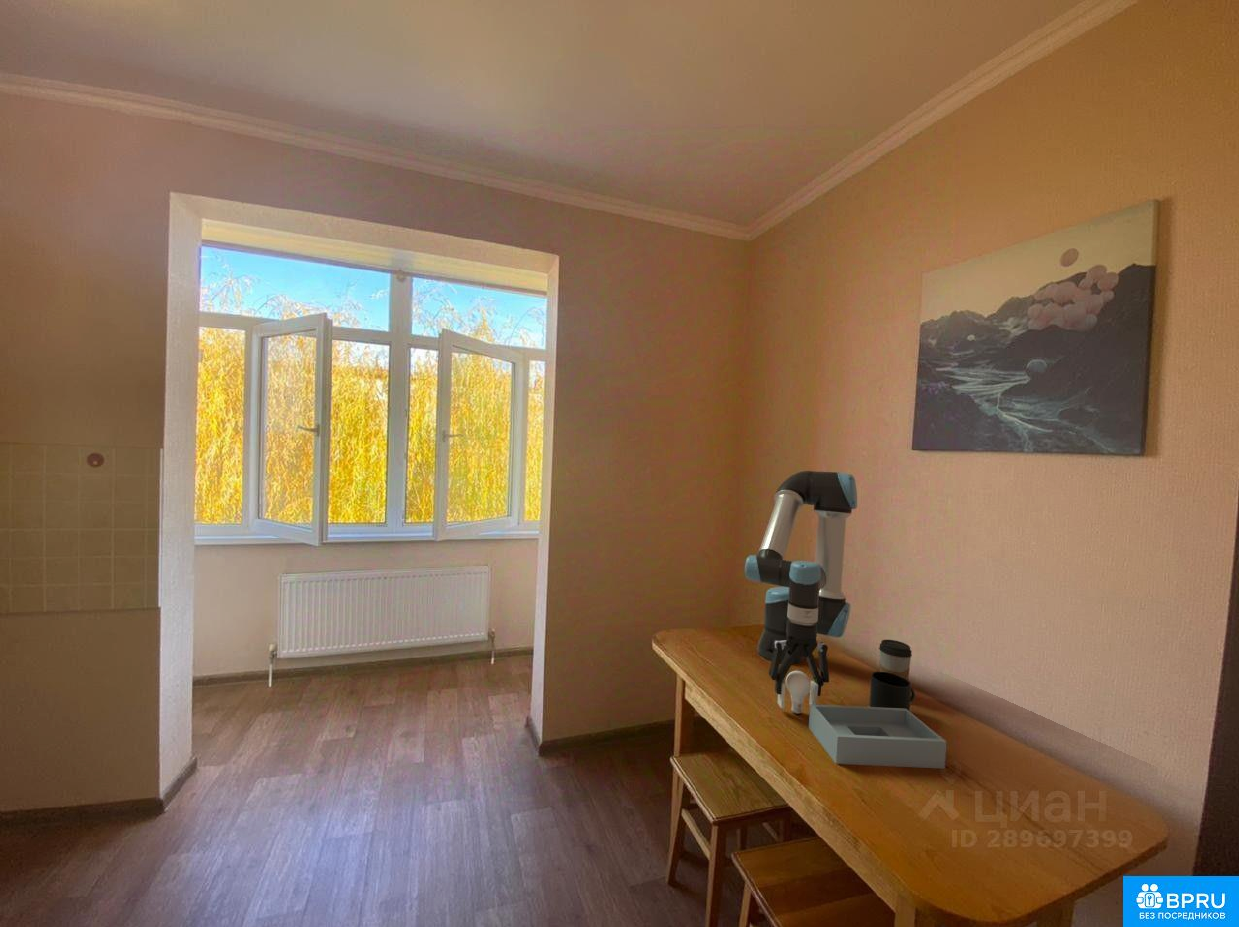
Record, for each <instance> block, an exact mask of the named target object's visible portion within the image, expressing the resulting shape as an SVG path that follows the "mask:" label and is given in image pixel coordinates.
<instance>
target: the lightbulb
mask: <svg viewBox="0 0 1239 927" xmlns="http://www.w3.org/2000/svg"><path fill="white" fill-rule="evenodd" d="M785 684H786V685H785V688H786V689H787V691H788V693H789V695H790V700H791V712H793V713H794V714H796V715H799V714H802V713H803V703H804V701H805V698H806V697H807V696H808V695H810V690H811V679H810V678H809V676H808V675H807V674H806V673H805V672H803V671H800V670H792V671H790V672H788V673H787V674H786V676H785Z"/></svg>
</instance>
